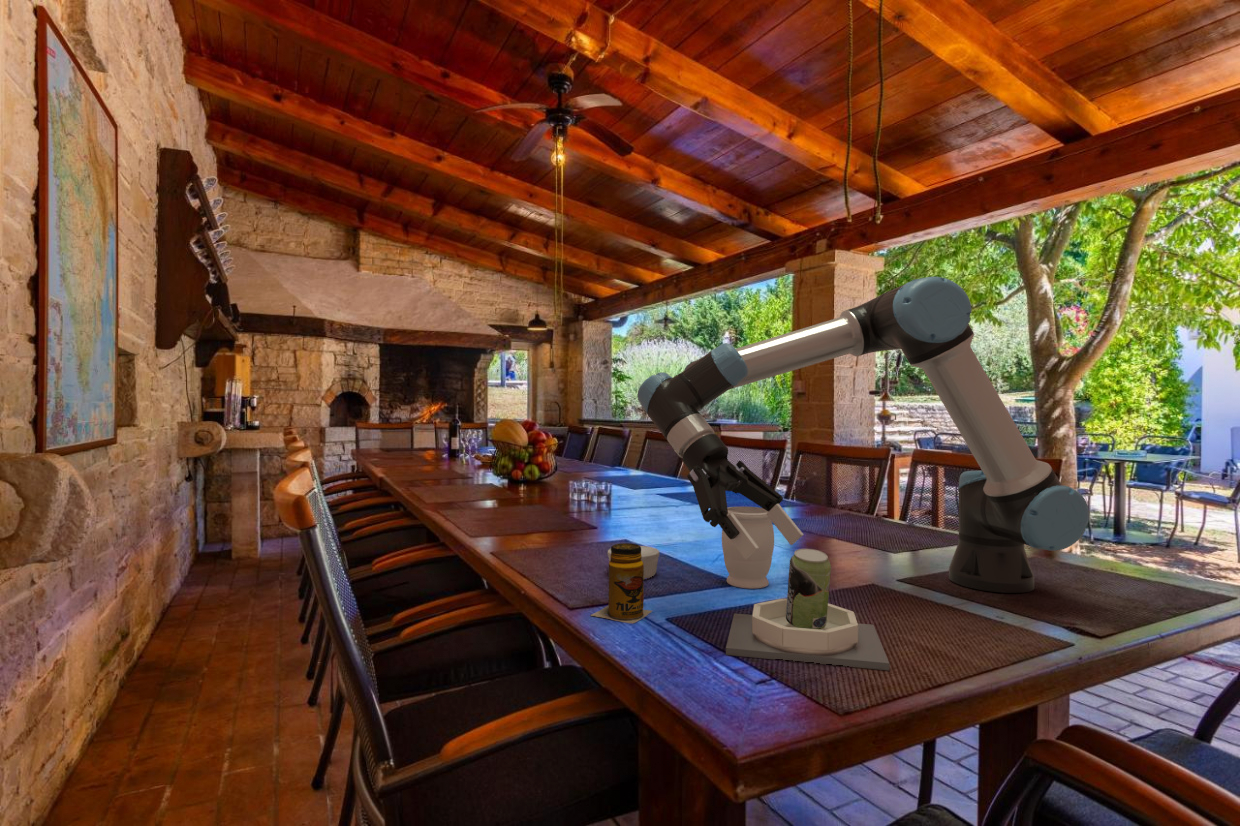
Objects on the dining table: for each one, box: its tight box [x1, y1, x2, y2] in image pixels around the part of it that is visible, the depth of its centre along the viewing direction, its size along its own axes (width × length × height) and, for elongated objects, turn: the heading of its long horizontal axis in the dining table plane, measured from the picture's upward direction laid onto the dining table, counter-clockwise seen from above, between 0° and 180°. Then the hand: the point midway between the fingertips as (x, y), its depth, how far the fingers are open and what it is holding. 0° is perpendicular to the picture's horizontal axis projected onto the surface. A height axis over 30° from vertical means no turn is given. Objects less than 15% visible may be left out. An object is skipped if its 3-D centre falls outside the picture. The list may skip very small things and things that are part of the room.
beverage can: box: [786, 548, 832, 630], centre depth 98 cm, size 6×7×12 cm
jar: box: [721, 506, 775, 590], centre depth 130 cm, size 11×10×15 cm
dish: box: [751, 598, 859, 655], centre depth 98 cm, size 15×15×3 cm
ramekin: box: [607, 545, 660, 580], centre depth 137 cm, size 11×11×5 cm
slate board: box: [725, 612, 890, 672], centre depth 98 cm, size 22×16×1 cm
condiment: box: [590, 542, 653, 624], centre depth 111 cm, size 7×8×12 cm
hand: (775, 546), depth 100 cm, fingers open, 13 cm apart
